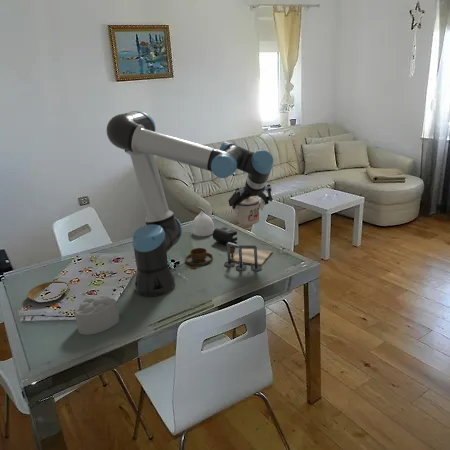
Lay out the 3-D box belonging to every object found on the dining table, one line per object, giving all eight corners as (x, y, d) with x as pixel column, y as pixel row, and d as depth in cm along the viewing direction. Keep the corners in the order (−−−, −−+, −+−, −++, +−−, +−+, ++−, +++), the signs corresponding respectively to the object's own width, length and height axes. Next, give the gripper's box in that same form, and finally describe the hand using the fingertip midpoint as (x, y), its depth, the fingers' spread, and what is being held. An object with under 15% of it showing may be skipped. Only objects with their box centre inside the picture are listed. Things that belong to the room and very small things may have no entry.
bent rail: (257, 273, 165) (257, 250, 162) (220, 267, 172) (219, 245, 169) (263, 267, 170) (262, 244, 167) (227, 261, 177) (225, 240, 174)
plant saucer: (51, 284, 169) (50, 278, 168) (78, 290, 162) (76, 284, 161) (20, 301, 156) (18, 295, 155) (47, 309, 150) (46, 302, 149)
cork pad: (261, 266, 171) (260, 264, 171) (230, 261, 177) (230, 260, 177) (272, 252, 183) (272, 251, 183) (243, 249, 189) (242, 247, 188)
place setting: (199, 251, 191) (198, 239, 189) (237, 258, 181) (236, 246, 179) (176, 266, 177) (175, 254, 175) (215, 275, 167) (214, 262, 165)
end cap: (212, 243, 198) (211, 229, 196) (223, 238, 203) (222, 225, 201) (227, 248, 192) (226, 234, 189) (238, 243, 196) (237, 229, 194)
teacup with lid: (250, 226, 167) (249, 198, 163) (233, 223, 173) (231, 196, 169) (268, 218, 175) (267, 191, 172) (251, 215, 181) (249, 189, 177)
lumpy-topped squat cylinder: (123, 320, 139) (119, 297, 136) (88, 339, 130) (83, 315, 127) (106, 310, 146) (102, 288, 143) (71, 327, 137) (66, 304, 134)
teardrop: (208, 226, 220) (206, 205, 216) (218, 232, 211) (216, 210, 207) (189, 231, 215) (187, 209, 211) (199, 237, 206) (196, 214, 202)
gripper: (227, 193, 152) (222, 220, 172) (288, 186, 156) (276, 213, 176) (224, 176, 155) (219, 205, 175) (283, 170, 159) (272, 198, 179)
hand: (247, 209), depth 175 cm, fingers closed on teacup with lid, 11 cm apart
